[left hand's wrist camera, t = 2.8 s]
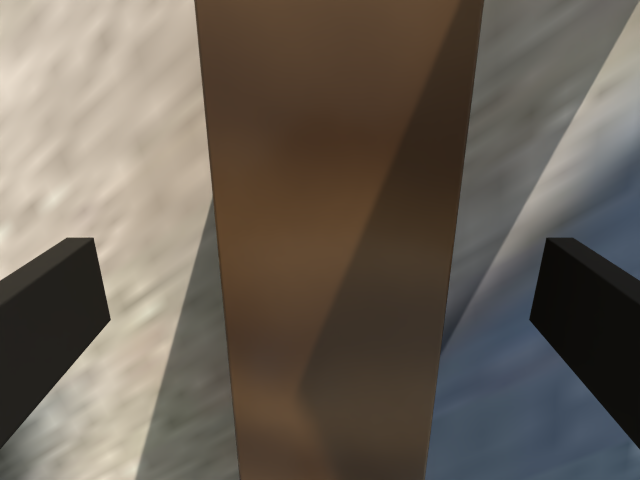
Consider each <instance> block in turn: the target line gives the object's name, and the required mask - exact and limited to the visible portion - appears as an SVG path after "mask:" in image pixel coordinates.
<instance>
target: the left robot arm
mask: <svg viewBox="0 0 640 480" xmlns="http://www.w3.org/2000/svg"><path fill="white" fill-rule="evenodd" d="M110 320H111V319H110V314H109V309H108V304H107V300H106V295H105V290H104V285H103V281H102V276H101V271H100V266H99V262H98V257H97V252H96V247H95V243H94V238H66V239H64V240H63V241H61V242H60V243H58V244H57V245H55V246H53V247H52V248H50V249H49V250H47V251H46V252H44V253H43V254H41V255H39V256H38V257H36V258H35V259H33V260H32V261H30V262H29V263H27V264H26V265H24V266H22V267H21V268H19V269H18V270H16V271H15V272H13V273H12V274H10V275H8V276H7V277H5V278H4V279H2V280H1V281H0V449H1V448H2V447H3V445H4V444H5V443H6V442H7V441H8V440H9V438H10V437H11V436H12V435H13V434H14V433H15V431H16V430H17V429H18V428H19V427H20V425H21V424H22V423H23V422H24V421H25V420H26V418H27V417H28V416H29V415H30V414H31V413H32V411H33V410H34V409H35V408H36V407H37V406H38V404H39V403H40V402H41V401H42V400H43V399H44V397H45V396H46V395H47V394H48V393H49V391H50V390H51V389H52V388H53V387H54V386H55V384H56V383H57V382H58V381H59V380H60V379H61V377H62V376H63V375H64V374H65V373H66V372H67V370H68V369H69V368H70V367H71V366H72V365H73V363H74V362H75V361H76V360H77V359H78V358H79V356H80V355H81V354H82V353H83V352H84V350H85V349H86V348H87V347H88V346H89V345H90V343H91V342H92V341H93V340H94V339H95V338H96V336H97V335H98V334H99V333H100V332H101V331H102V329H103V328H104V327H105V326H106V325H107V324H108V322H109V321H110ZM529 320H530V321H531V322H532V324H533V325H534V326H535V327H536V328H537V329H538V331H539V332H540V333H541V334H542V335H543V336H544V338H545V339H546V340H547V341H548V342H549V343H550V345H551V346H552V347H553V348H554V349H555V350H556V352H557V353H558V354H559V355H560V356H561V358H562V359H563V360H564V361H565V362H566V363H567V365H568V366H569V367H570V368H571V369H572V370H573V372H574V373H575V374H576V375H577V376H578V377H579V379H580V380H581V381H582V382H583V383H584V384H585V386H586V387H587V388H588V389H589V390H590V392H591V393H592V394H593V395H594V396H595V397H596V399H597V400H598V401H599V402H600V403H601V404H602V406H603V407H604V408H605V409H606V410H607V411H608V413H609V414H610V415H611V416H612V417H613V418H614V420H615V421H616V422H617V423H618V424H619V425H620V427H621V428H622V429H623V430H624V431H625V433H626V434H627V435H628V436H629V437H630V438H631V440H632V441H633V442H634V443H635V444H636V445H637V447H638V448H639V449H640V281H639V280H638V279H636V278H635V277H633V276H632V275H630V274H628V273H627V272H625V271H624V270H622V269H621V268H619V267H618V266H616V265H614V264H613V263H611V262H610V261H608V260H607V259H605V258H604V257H602V256H601V255H599V254H597V253H596V252H594V251H593V250H591V249H590V248H588V247H587V246H585V245H583V244H582V243H580V242H579V241H577V240H576V239H574V238H546V243H545V247H544V252H543V257H542V262H541V266H540V271H539V276H538V281H537V285H536V290H535V295H534V300H533V304H532V309H531V314H530V319H529Z"/></svg>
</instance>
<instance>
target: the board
mask: <svg viewBox="0 0 640 480" xmlns="http://www.w3.org/2000/svg"><path fill="white" fill-rule="evenodd" d="M194 2H195V13H196V23H197V34H198V44H199V55H200V65H201V76H202V87H203V97H204V108H205V118H206V129H207V139H208V150H209V160H210V171H211V181H212V192H213V202H214V213H215V223H216V234H217V245H218V255H219V266H220V276H221V287H222V297H223V308H224V318H225V329H226V339H227V350H228V360H229V371H230V382H231V392H232V403H233V413H234V424H235V434H236V445H237V455H238V466H239V476H240V480H425V473H426V465H427V457H428V449H429V441H430V433H431V425H432V416H433V408H434V400H435V392H436V384H437V376H438V368H439V360H440V352H441V344H442V336H443V328H444V320H445V312H446V304H447V295H448V287H449V279H450V271H451V263H452V255H453V247H454V239H455V231H456V223H457V215H458V207H459V199H460V191H461V183H462V174H463V166H464V158H465V150H466V142H467V134H468V126H469V118H470V110H471V102H472V94H473V86H474V78H475V70H476V61H477V53H478V45H479V37H480V29H481V21H482V13H483V5H484V0H194Z"/></svg>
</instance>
